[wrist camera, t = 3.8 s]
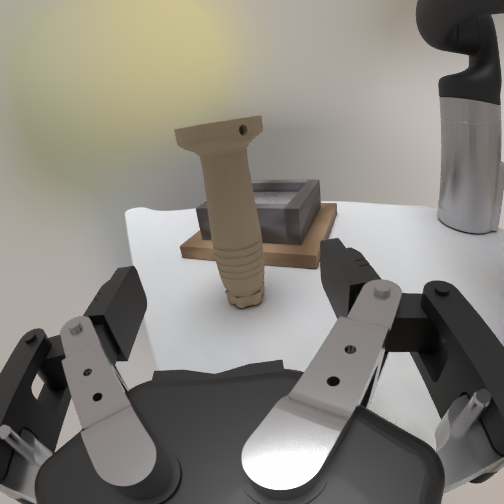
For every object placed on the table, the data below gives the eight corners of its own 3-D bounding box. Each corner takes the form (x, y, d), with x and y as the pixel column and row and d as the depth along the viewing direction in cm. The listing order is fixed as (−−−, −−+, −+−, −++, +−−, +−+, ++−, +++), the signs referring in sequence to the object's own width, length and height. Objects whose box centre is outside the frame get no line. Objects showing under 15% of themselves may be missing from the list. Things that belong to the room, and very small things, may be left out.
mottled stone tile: (304, 197, 39) (304, 191, 38) (287, 220, 32) (287, 213, 32) (246, 197, 42) (246, 192, 42) (219, 218, 35) (218, 212, 35)
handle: (202, 306, 26) (162, 131, 19) (253, 274, 30) (230, 119, 23) (238, 328, 23) (201, 124, 16) (291, 290, 26) (274, 114, 20)
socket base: (336, 213, 42) (335, 176, 39) (316, 269, 29) (314, 216, 27) (237, 211, 48) (232, 178, 46) (182, 257, 35) (172, 214, 33)
